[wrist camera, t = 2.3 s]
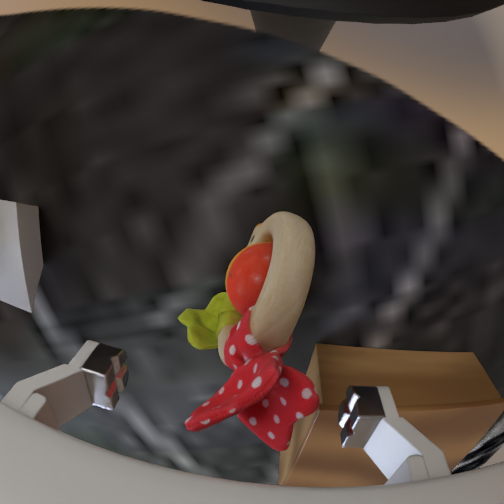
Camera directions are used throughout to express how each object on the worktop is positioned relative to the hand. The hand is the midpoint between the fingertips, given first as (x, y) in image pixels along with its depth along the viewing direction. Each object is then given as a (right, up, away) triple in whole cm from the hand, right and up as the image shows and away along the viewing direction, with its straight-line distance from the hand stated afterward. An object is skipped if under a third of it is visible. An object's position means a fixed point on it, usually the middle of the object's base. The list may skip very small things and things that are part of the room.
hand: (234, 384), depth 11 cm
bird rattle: (+1, +4, +8) cm, 9 cm away
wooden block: (+10, -8, +11) cm, 17 cm away
